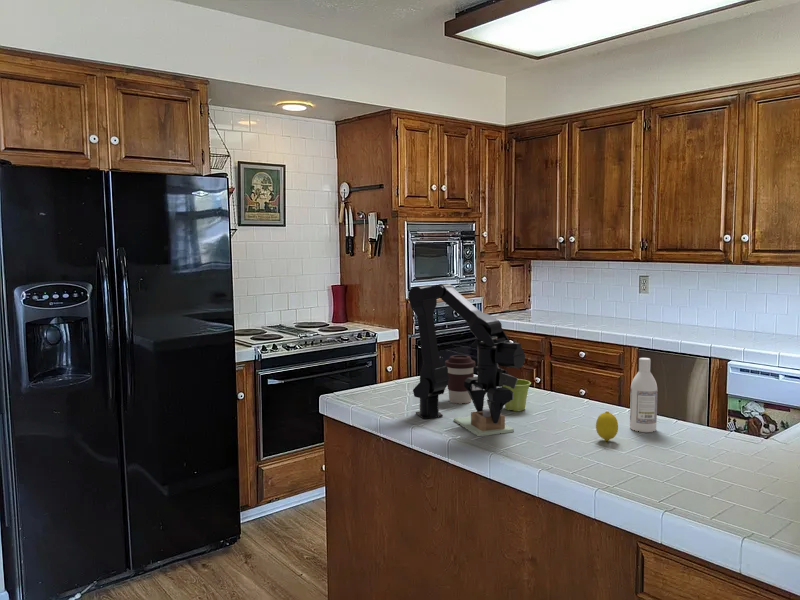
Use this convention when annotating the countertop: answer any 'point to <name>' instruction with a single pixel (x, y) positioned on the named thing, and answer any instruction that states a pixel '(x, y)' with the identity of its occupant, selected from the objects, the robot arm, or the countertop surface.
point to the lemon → (607, 426)
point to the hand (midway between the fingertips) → (487, 418)
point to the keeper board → (467, 424)
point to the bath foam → (643, 399)
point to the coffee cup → (459, 377)
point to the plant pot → (518, 395)
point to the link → (486, 421)
